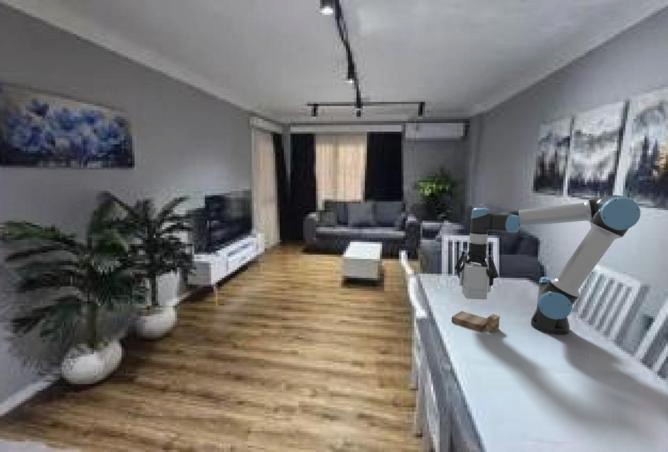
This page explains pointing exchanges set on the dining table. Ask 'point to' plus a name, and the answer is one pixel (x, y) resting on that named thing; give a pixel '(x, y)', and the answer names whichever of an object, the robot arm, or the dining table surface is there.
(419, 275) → the dining table surface
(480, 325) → the brown wooden slab
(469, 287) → the supplement box
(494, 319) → the bench dog
